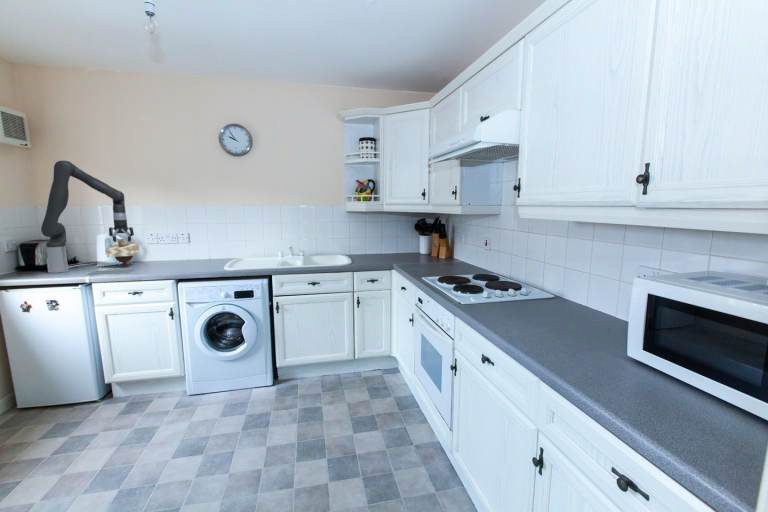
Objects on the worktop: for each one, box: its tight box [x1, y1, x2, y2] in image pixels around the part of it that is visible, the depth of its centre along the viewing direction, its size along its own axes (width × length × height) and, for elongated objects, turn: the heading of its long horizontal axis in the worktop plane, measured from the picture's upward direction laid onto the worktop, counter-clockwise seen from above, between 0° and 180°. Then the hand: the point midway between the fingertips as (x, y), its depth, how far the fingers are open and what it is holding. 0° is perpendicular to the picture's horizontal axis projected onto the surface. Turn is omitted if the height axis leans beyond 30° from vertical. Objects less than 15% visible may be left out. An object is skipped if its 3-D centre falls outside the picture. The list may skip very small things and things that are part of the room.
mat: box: [85, 268, 137, 276], centre depth 233 cm, size 24×15×1 cm, turn 107°
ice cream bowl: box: [114, 255, 134, 269], centre depth 250 cm, size 11×11×15 cm
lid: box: [105, 238, 140, 258], centre depth 249 cm, size 15×15×11 cm
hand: (122, 241), depth 248 cm, fingers open, 8 cm apart
